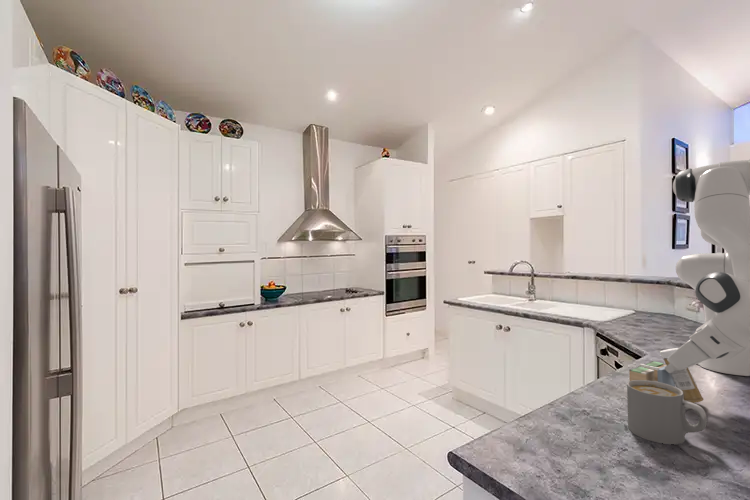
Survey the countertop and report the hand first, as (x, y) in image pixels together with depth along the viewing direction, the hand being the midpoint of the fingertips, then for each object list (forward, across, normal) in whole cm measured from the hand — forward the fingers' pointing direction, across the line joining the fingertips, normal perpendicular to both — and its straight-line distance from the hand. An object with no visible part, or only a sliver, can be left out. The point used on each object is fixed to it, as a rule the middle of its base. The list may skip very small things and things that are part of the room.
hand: (672, 368), depth 98 cm
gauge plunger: (+8, 0, +3) cm, 9 cm away
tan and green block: (+9, 0, +2) cm, 10 cm away
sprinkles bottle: (+2, 0, +8) cm, 9 cm away
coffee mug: (+1, +25, +11) cm, 27 cm away
